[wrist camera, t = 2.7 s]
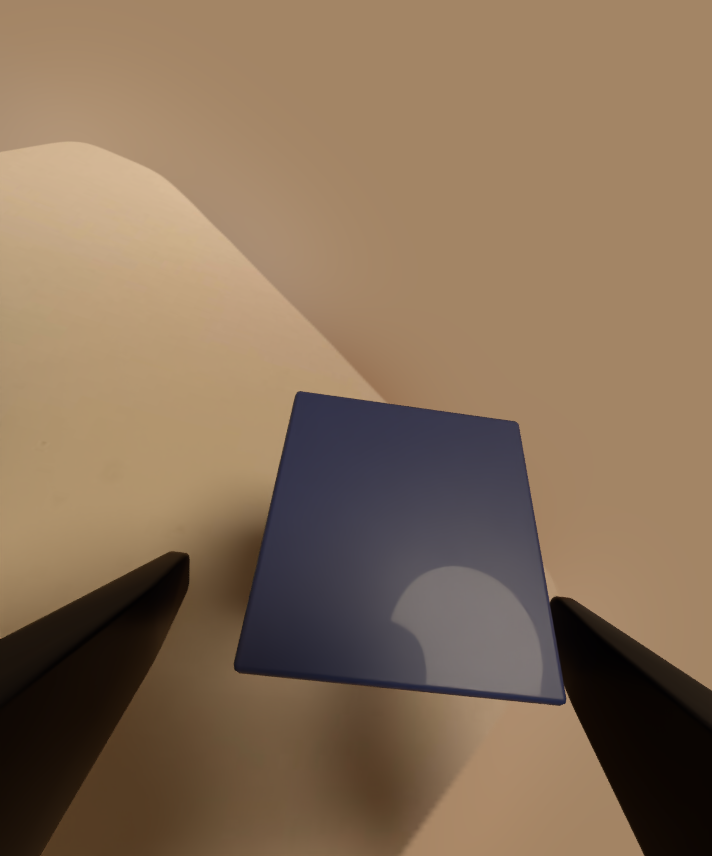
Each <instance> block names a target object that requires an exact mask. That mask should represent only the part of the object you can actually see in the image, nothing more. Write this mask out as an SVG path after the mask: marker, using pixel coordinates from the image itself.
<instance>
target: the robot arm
mask: <svg viewBox="0 0 712 856" xmlns="http://www.w3.org/2000/svg"><path fill="white" fill-rule="evenodd" d="M189 565H190V559H189V555H188V554H187V553H183V552H175V551H171V552H168V553H166V554H164V555H162V556H160V557H158V558H156V559H154V560H152V561H151V562H149V563H147V564H145V565H143V566H141V567H139V568H137V569H135V570H133V571H131V572H129V573H127V574H125V575H124V576H122V577H120V578H118V579H116V580H114V581H112V582H110V583H108V584H106V585H104V586H102V587H100V588H98V589H97V590H95V591H93V592H91V593H89V594H87V595H85V596H83V597H81V598H79V599H77V600H75V601H73V602H71V603H69V604H68V605H66V606H64V607H62V608H60V609H58V610H56V611H54V612H52V613H50V614H48V615H46V616H44V617H42V618H41V619H39V620H37V621H35V622H33V623H31V624H29V625H27V626H25V627H23V628H21V629H19V630H17V631H15V632H13V633H12V634H10V635H8V636H6V637H4V638H2V639H0V856H40V855H41V853H42V851H43V850H44V848H45V846H46V845H47V843H48V841H49V840H50V838H51V836H52V834H53V833H54V831H55V829H56V828H57V826H58V824H59V823H60V821H61V819H62V817H63V816H64V814H65V812H66V811H67V809H68V807H69V806H70V804H71V802H72V800H73V799H74V797H75V795H76V794H77V792H78V790H79V788H80V787H81V785H82V783H83V782H84V780H85V778H86V777H87V775H88V773H89V771H90V770H91V768H92V766H93V765H94V763H95V761H96V760H97V758H98V756H99V754H100V753H101V751H102V749H103V748H104V746H105V744H106V743H107V741H108V739H109V737H110V736H111V734H112V732H113V731H114V729H115V727H116V726H117V724H118V722H119V720H120V719H121V717H122V715H123V714H124V712H125V710H126V709H127V707H128V705H129V703H130V702H131V700H132V698H133V697H134V695H135V693H136V692H137V690H138V688H139V686H140V685H141V683H142V681H143V680H144V678H145V676H146V675H147V673H148V671H149V669H150V668H151V666H152V664H153V662H154V660H155V658H156V656H157V654H158V652H159V650H160V648H161V646H162V644H163V642H164V640H165V638H166V635H167V633H168V631H169V629H170V627H171V625H172V623H173V621H174V618H175V616H176V614H177V612H178V610H179V608H180V606H181V603H182V601H183V599H184V597H185V595H186V593H187V590H188V586H189ZM550 608H551V614H552V620H553V625H554V631H555V637H556V643H557V648H558V654H559V660H560V666H561V671H562V677H563V683H564V686H565V689H566V691H567V694H568V696H569V698H570V701H571V703H572V706H573V708H574V710H575V712H576V714H577V716H578V719H579V721H580V723H581V725H582V727H583V729H584V731H585V733H586V735H587V737H588V739H589V741H590V743H591V746H592V748H593V749H594V752H595V753H596V756H597V758H598V760H599V762H600V764H601V766H602V768H603V770H604V773H605V775H606V777H607V779H608V781H609V783H610V785H611V787H612V789H613V791H614V793H615V795H616V797H617V800H618V801H619V804H620V806H621V808H622V810H623V812H624V814H625V816H626V818H627V820H628V822H629V824H630V827H631V829H632V831H633V833H634V835H635V837H636V839H637V841H638V843H639V845H640V847H641V849H642V851H643V854H644V856H712V691H711V690H710V689H708V688H707V687H705V686H704V685H702V684H701V683H699V682H698V681H696V680H695V679H693V678H692V677H690V676H689V675H687V674H685V673H684V672H683V671H681V670H679V669H678V668H676V667H675V666H673V665H672V664H670V663H669V662H667V661H666V660H664V659H663V658H661V657H660V656H658V655H657V654H655V653H654V652H652V651H651V650H649V649H648V648H646V647H645V646H643V645H641V644H640V643H639V642H637V641H636V640H634V639H633V638H631V637H630V636H628V635H627V634H625V633H623V632H622V631H620V630H619V629H617V628H616V627H614V626H613V625H611V624H610V623H608V622H607V621H605V620H604V619H602V618H601V617H599V616H598V615H596V614H595V613H593V612H592V611H590V610H589V609H587V608H586V607H584V606H583V605H581V604H580V603H578V602H577V601H575V600H573V599H571V598H566V597H558V596H556V597H553V598H552V599H551V601H550Z"/></svg>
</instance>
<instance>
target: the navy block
mask: <svg viewBox="0 0 712 856" xmlns="http://www.w3.org/2000/svg"><path fill="white" fill-rule="evenodd" d="M234 670H235V671H237V672H238V673H242V674H252V675H262V676H272V677H282V678H292V679H302V680H311V681H321V682H331V683H341V684H351V685H361V686H370V687H380V688H390V689H400V690H410V691H420V692H430V693H439V694H449V695H459V696H469V697H479V698H489V699H499V700H508V701H518V702H528V703H538V704H549V705H558V706H560V705H563V704H565V703H566V694H565V690H564V683H563V677H562V671H561V666H560V660H559V654H558V648H557V643H556V637H555V631H554V625H553V620H552V614H551V608H550V602H549V597H548V591H547V585H546V579H545V573H544V568H543V562H542V556H541V551H540V545H539V539H538V533H537V527H536V522H535V516H534V510H533V504H532V499H531V493H530V487H529V482H528V476H527V470H526V464H525V458H524V453H523V447H522V441H521V436H520V429H519V425H518V423H517V422H515V421H508V420H501V419H493V418H487V417H480V416H472V415H465V414H458V413H451V412H444V411H437V410H430V409H422V408H416V407H409V406H401V405H394V404H387V403H380V402H373V401H366V400H359V399H352V398H345V397H337V396H330V395H323V394H316V393H309V392H302V391H299V392H297V394H296V395H295V398H294V403H293V407H292V412H291V416H290V420H289V425H288V429H287V433H286V438H285V442H284V446H283V451H282V455H281V460H280V464H279V468H278V473H277V477H276V481H275V486H274V490H273V495H272V499H271V503H270V508H269V512H268V516H267V521H266V525H265V529H264V534H263V538H262V543H261V547H260V551H259V556H258V560H257V564H256V569H255V573H254V577H253V582H252V586H251V591H250V595H249V599H248V604H247V608H246V612H245V617H244V621H243V626H242V630H241V634H240V639H239V643H238V647H237V652H236V656H235V660H234Z"/></svg>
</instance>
